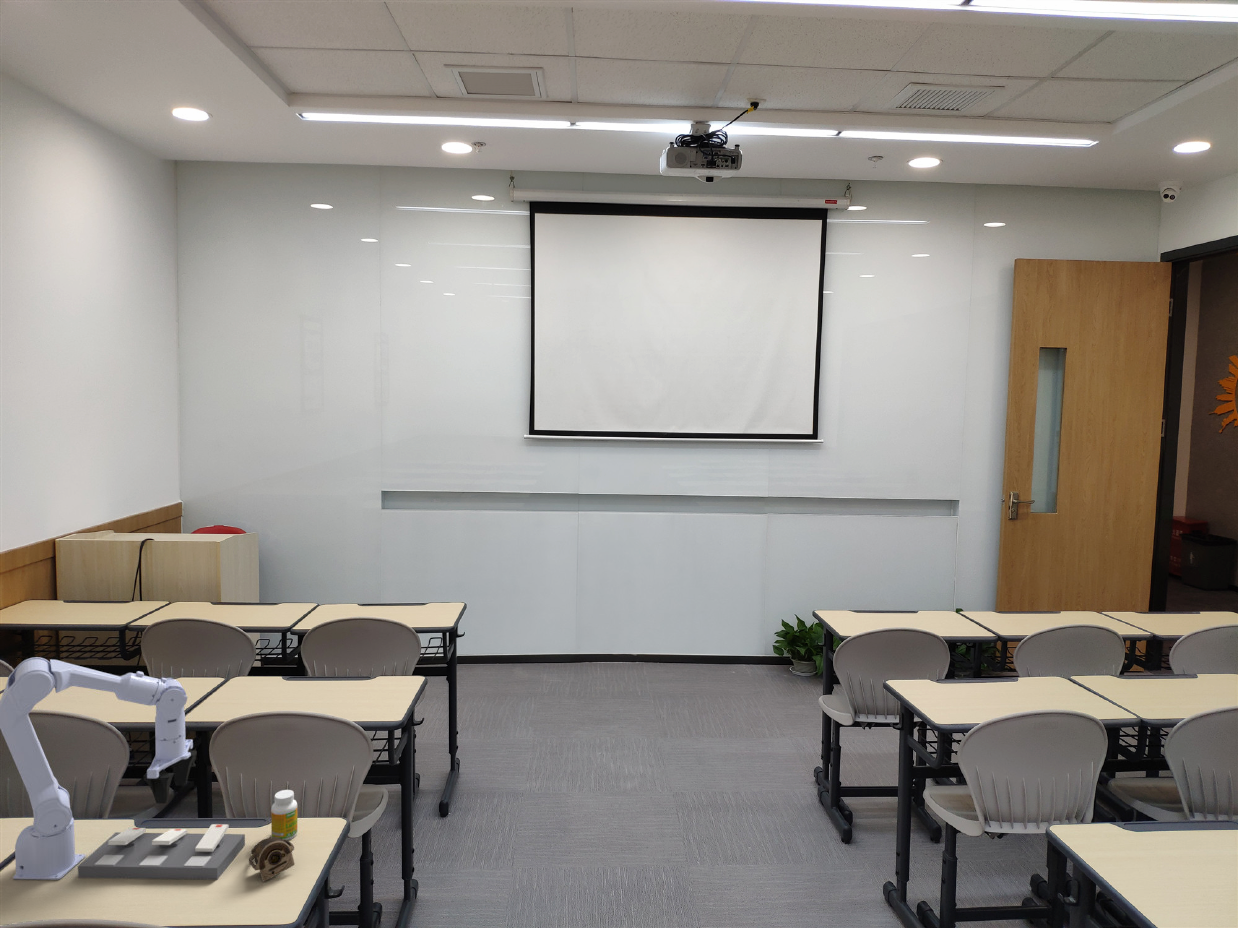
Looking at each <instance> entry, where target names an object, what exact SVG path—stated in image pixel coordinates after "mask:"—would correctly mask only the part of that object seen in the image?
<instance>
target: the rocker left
mask: <svg viewBox="0 0 1238 928" xmlns="http://www.w3.org/2000/svg"><path fill="white" fill-rule="evenodd" d="M146 829H147V828H146V827H128V828H127V829H124V831H121V833H120V834H118V835H117V836H115V837H114V838H112V839H111V840H109V841H108V845H126V844H128V843H129V842H131V841H132V840H135V838H137V837H138V836H140V835H141V834H143V833H147V832H146Z"/></svg>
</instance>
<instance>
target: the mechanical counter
mask: <svg viewBox="0 0 1238 928" xmlns="http://www.w3.org/2000/svg"><path fill="white" fill-rule="evenodd" d="M293 851H295V845H294V844H293V843H291V841H290V840H286V839H284V840H283V839H281V838H278V837H272V836H271V837H268V838H265V839H262V840H261V841H259V842H258V843H257V844H256V845H255V846H253V848H252V849H251V851H250V854H251V855H250V857H249V858H248V863H249V866H251V868H252V869H254V871H259V872H260V875H261V878H262V881H263V882H266V881H268V880H270V879H273V878H274V877H276V876H277V875H279V874H281V873H283V872H284V871H286V870H288V869H290V868H292V867H293V866H295V864H296V863H295V860H294V855H293Z"/></svg>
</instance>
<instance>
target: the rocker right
mask: <svg viewBox="0 0 1238 928" xmlns="http://www.w3.org/2000/svg"><path fill="white" fill-rule="evenodd" d="M229 826H230V825H229V824H225V823H224V824H222V823H220V824H219V823H215V824H213V823H212V824H211V825H210V826H209V828H208V829H207V830H206V832H205V833H204V834H205V835H204V836H203V838H202V839H201V840H200V842H199V843H198V845H197V846H196V848H195V851H202V852H213V851H214V849H215V848H216V846H217V845H218V843H219V842H220V840H221V839H222V837H223V836H224V834H227V831H228V829H229V828H230V827H229Z"/></svg>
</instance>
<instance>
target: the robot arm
mask: <svg viewBox="0 0 1238 928" xmlns="http://www.w3.org/2000/svg"><path fill="white" fill-rule="evenodd" d="M71 687H77V688H84V689H91V690H97V691H103V692H111V693H113V694H115V696H116V698H117V700H119V701H124V702H128V703H135V704H140V705H143V706H149V707H150V706H155V717H154V723H155V725H154V726H155V727H154V728H155V732H154V733H155V736H154V737H155V756H154V758H153V760H152V762H151V764H150V766H149V767H148V768H147V770H146V773H145V774H144V775H143V780H144V782H145V783H146V784H147V785H148V786H149V788H150V789H151V792H152V795H153V798H154V800H155V803H156V804H167V803H168V801H169V795H170V786H171V782H172V779H174V785H175V786H182V787H183V786H184V787H185V786H186V785H187V783H188V779H189V775H190V770H191V767H192V764H193V763H194V760H195V759H196V756H197V752H198V751H197V750H192V749H193V747H194V742H193V741H194V740H193V739H186V714H185V713H186V712H185V705H186V703H187V701H188V696H187V693H186V691H185V689H184V687H183V686H182V684H181V682H180V681H179V680H177V679H174V678H172V677H160V678H156V677H153V676H147V675H145V674H144V672H143V671H139V670H138V671H136V673H133V672H127V673H125V674H122V675H121V676H119V675H116V674H112V673H107V672H103V671H99V670H96V669H92V668H89V667H84V666H80V665H77V664H73V663H69V662H66V661H63V660H58V659H49V660H48V659H46V658H44V657H37V656H36V657H34V656H33V657H30V658H26V659H24V660H23V661H21V662H20V663H19V664H18V665H17V666H16V667H15V668H14V669H13V671H12V672H11V673H10V674H9V676H8V678H7V680H6V684H5V687H4V690H3V693H2V696H1V698H0V731H1V734H2V736H3V738H4V740H5V742H6V746H7V747H8V750H9V752H10V754H11V757H12V760H13V762H14V763H15V767H16V768H17V771H18V773H19V775H20V778H21V780H22V782H23V784H24V787H25V789H26V792H27V794H28V797H29V801H30V805H31V808H32V812H33V822H32V823H33V824H31V825H28V826H26V827H25V828H24V829H22V831H20V833H19V835H18V836H17V838H16V842H15V846H14V854H15V859H14V860H15V874H14V875H13V876H12V878H13V880H54V881H55V880H61V879H62V878H63V877H64V876H65V875H67V874H68V873H69V872H70V871H71V870H72V869H73V868H74V867H75V866H77V865H78V864H79V863H80V862H82V860H83V859H86V854H84V853H83V854H81V853H76V847H75V845H76V841H75V818H74V817H73V811H72V809H71V803H70V798H71V797H70V793H69V791H68V790H67V789H66V788H64V787H63V786H61V785H60V784H59V782H58V779H57V778H56V777H55V776H54V773H53V771H52V768H51V767H50V764H49V761H48V759H47V757H46V755H45V752H44V749H43V748H42V744H41V742H40V740H39V739H38V738H39V737H38V736H37V733H36V730H35V728H34V726H33V724H32V720H31V718H30V716H29V714H30V713H31V711H32V710H33V709H34V707H35V706H36V705H38V703H40V702H42V701H43V700H44V699H45V698H47V697H48V696H49V695H50V694H51V692H52V691H53V690H54V689H55V694H57V693H60V692H63V691H65V690H66V689H67V690H68V689H69V688H71ZM170 766H172V767H171V768H172V771H173V772H167V771H166V770H165V769H166V768H168V767H170Z"/></svg>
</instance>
